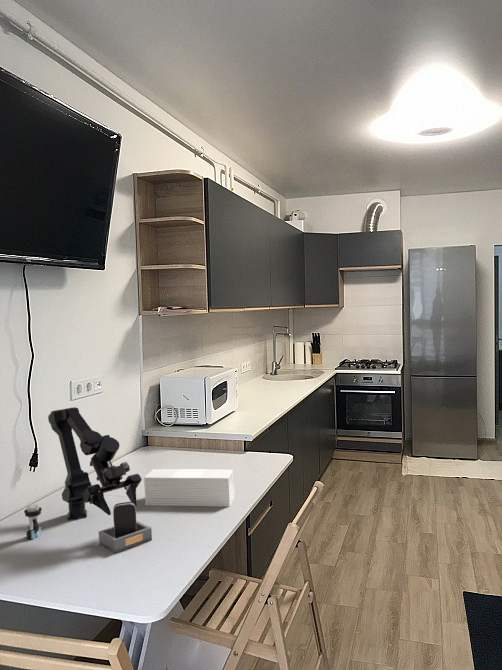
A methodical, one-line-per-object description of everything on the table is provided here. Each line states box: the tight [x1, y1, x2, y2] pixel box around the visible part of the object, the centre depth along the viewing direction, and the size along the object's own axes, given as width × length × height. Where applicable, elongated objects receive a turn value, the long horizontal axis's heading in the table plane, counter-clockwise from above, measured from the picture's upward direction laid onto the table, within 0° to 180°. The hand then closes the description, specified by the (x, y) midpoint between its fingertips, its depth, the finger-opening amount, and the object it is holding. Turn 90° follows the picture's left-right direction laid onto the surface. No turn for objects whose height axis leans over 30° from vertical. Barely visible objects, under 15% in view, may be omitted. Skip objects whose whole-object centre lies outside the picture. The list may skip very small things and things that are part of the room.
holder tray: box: [98, 520, 153, 554], centre depth 179 cm, size 10×13×4 cm
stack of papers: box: [143, 468, 235, 507], centre depth 215 cm, size 32×11×11 cm, turn 82°
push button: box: [23, 504, 43, 540], centre depth 187 cm, size 7×5×10 cm
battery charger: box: [112, 501, 137, 538], centre depth 180 cm, size 7×4×11 cm, turn 106°
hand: (123, 510), depth 180 cm, fingers open, 9 cm apart
